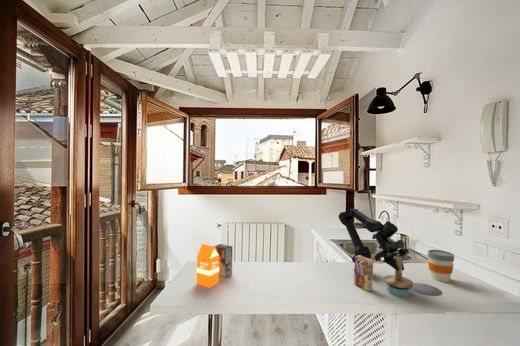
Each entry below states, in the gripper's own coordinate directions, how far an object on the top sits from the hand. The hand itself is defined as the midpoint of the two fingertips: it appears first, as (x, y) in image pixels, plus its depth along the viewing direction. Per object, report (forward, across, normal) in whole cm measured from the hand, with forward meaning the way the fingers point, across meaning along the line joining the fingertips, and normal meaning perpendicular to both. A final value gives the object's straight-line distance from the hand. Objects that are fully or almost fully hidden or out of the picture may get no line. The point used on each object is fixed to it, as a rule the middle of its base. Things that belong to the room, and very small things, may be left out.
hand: (401, 270), depth 134 cm
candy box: (0, -12, +17) cm, 21 cm away
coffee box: (-28, -78, +45) cm, 94 cm away
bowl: (+7, 0, +9) cm, 12 cm away
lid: (+4, 0, +6) cm, 7 cm away
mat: (+9, +16, +7) cm, 19 cm away
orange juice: (-22, -88, +39) cm, 98 cm away
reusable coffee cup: (+4, +37, +12) cm, 39 cm away
